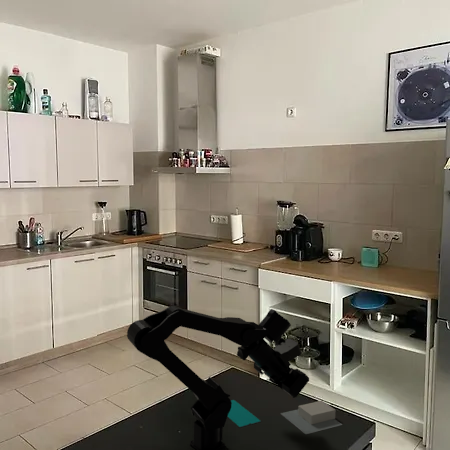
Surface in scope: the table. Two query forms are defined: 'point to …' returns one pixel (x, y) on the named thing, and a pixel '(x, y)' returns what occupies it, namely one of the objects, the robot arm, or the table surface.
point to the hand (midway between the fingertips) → (297, 390)
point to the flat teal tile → (241, 415)
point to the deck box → (316, 412)
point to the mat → (306, 426)
